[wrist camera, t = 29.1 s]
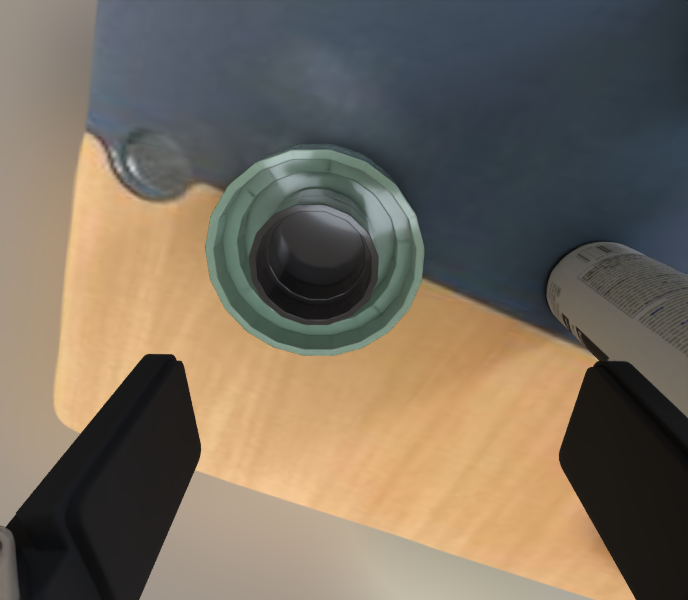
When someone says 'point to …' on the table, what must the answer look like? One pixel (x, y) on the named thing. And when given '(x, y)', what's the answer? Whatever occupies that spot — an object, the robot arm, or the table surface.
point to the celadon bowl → (265, 196)
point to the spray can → (626, 312)
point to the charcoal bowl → (315, 258)
